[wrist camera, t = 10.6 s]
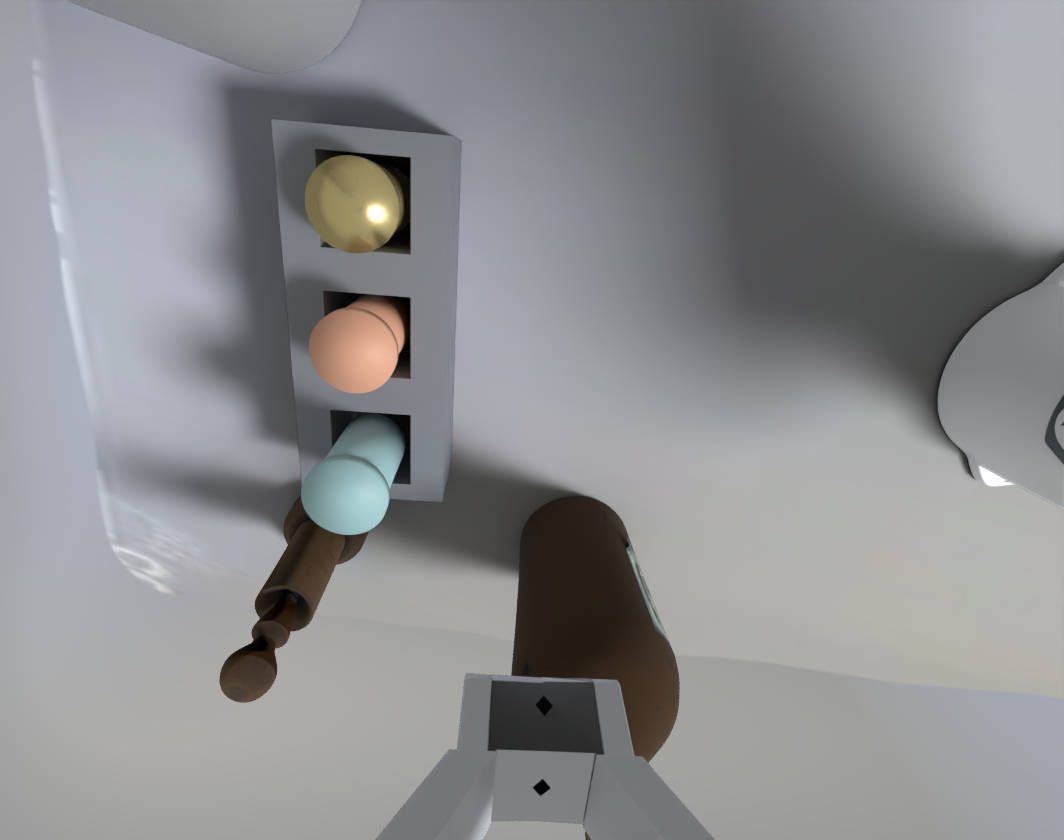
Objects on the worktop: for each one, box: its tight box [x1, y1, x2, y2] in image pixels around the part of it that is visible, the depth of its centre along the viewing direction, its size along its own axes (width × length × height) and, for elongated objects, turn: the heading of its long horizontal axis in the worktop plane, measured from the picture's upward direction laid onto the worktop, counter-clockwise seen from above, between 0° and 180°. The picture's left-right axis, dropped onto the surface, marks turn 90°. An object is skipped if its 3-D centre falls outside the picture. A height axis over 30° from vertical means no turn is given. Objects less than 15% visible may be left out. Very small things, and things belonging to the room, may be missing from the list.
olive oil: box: [512, 497, 679, 840], centre depth 39 cm, size 11×11×25 cm
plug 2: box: [309, 294, 411, 393], centre depth 37 cm, size 5×5×8 cm
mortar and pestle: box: [220, 496, 368, 703], centre depth 41 cm, size 7×6×18 cm
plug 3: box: [301, 414, 406, 535], centre depth 37 cm, size 5×5×8 cm
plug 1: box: [305, 155, 411, 254], centre depth 35 cm, size 5×5×8 cm
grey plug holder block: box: [271, 119, 461, 502], centre depth 40 cm, size 10×24×6 cm, turn 175°
